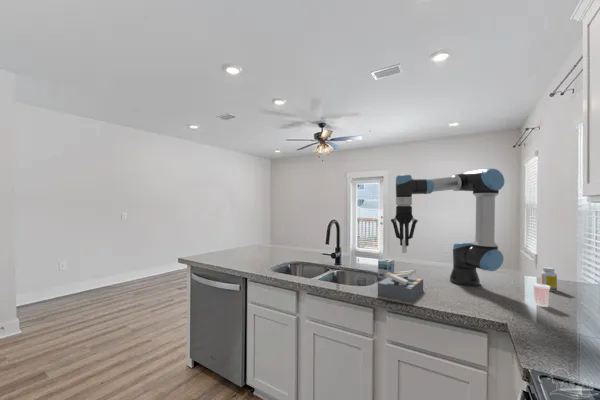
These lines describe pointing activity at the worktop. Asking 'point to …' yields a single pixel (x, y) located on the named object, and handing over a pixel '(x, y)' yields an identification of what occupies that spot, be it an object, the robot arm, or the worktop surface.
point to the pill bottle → (549, 278)
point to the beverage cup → (541, 294)
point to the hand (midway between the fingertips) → (404, 252)
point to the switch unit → (401, 288)
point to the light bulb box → (385, 267)
